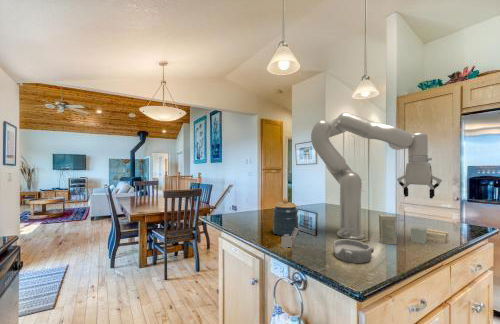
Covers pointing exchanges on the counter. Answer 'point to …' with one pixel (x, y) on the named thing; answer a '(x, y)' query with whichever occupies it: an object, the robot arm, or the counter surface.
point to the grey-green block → (418, 234)
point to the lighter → (288, 239)
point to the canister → (285, 218)
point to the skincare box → (387, 229)
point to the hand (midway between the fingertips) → (418, 197)
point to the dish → (352, 250)
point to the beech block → (437, 236)
